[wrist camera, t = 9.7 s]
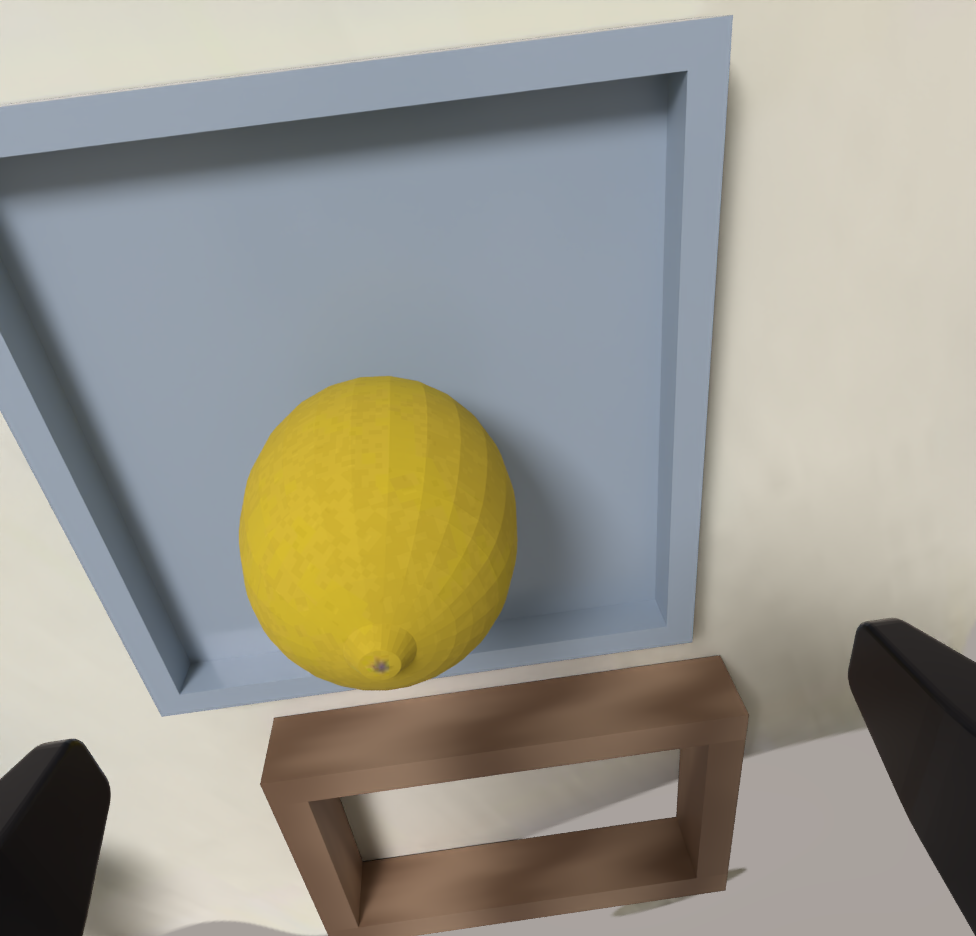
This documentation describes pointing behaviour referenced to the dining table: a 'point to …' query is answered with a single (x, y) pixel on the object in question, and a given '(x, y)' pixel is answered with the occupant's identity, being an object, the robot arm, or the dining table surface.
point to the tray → (373, 321)
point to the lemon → (378, 533)
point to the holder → (499, 750)
